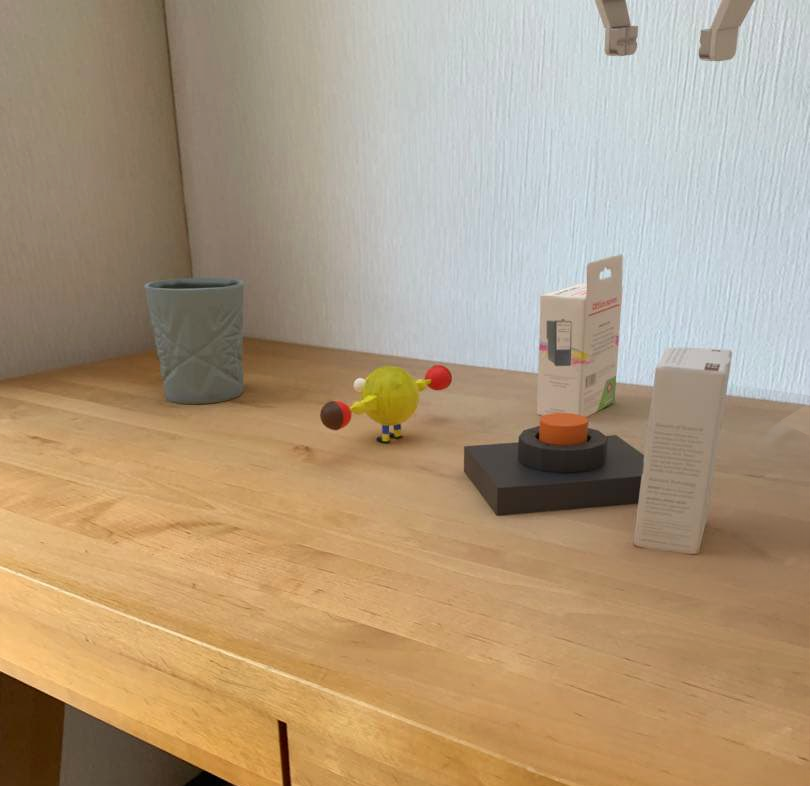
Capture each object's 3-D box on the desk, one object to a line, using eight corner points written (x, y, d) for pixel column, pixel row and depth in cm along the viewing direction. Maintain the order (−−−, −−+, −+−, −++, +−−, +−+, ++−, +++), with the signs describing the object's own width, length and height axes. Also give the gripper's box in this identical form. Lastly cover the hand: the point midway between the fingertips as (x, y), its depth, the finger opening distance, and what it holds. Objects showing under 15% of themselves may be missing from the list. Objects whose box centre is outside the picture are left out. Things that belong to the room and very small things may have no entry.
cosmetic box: (644, 515, 62) (661, 344, 57) (710, 523, 61) (733, 348, 56) (631, 549, 57) (648, 363, 52) (703, 559, 55) (728, 368, 51)
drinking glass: (141, 396, 97) (125, 284, 92) (214, 379, 104) (203, 274, 99) (197, 410, 91) (183, 291, 86) (271, 391, 98) (262, 280, 93)
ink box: (571, 396, 93) (580, 250, 87) (616, 403, 90) (627, 252, 84) (533, 415, 87) (539, 259, 81) (579, 422, 84) (589, 262, 78)
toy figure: (420, 413, 88) (419, 345, 85) (467, 421, 85) (468, 351, 82) (301, 461, 75) (295, 383, 72) (352, 473, 72) (348, 392, 69)
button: (577, 433, 69) (578, 411, 68) (594, 446, 65) (595, 424, 65) (532, 436, 68) (533, 414, 67) (547, 450, 65) (548, 427, 64)
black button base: (614, 459, 74) (617, 413, 72) (667, 501, 65) (673, 449, 63) (463, 471, 72) (464, 424, 70) (496, 516, 63) (498, 463, 61)
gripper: (873, -245, 46) (824, 57, 53) (616, -178, 61) (607, 48, 69) (785, -245, 43) (747, 70, 51) (542, -176, 59) (541, 58, 66)
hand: (665, 57), depth 60 cm, fingers open, 8 cm apart
